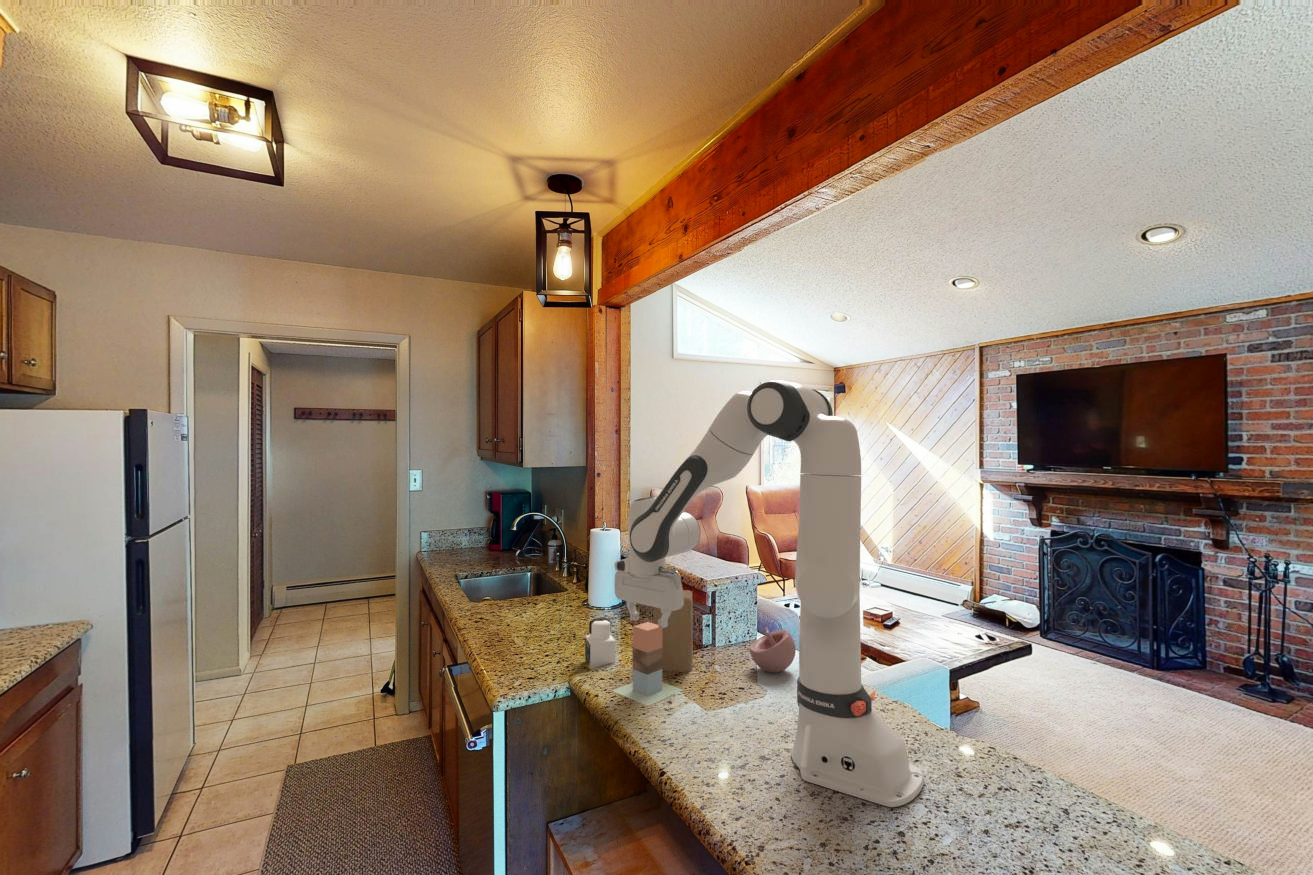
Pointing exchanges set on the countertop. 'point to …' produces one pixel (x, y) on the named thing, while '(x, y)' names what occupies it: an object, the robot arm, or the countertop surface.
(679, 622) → the block
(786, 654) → the mortar and pestle
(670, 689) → the plate
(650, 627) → the brick
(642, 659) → the brick
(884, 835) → the countertop surface
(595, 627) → the medicine bottle
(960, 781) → the countertop surface
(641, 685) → the brick
